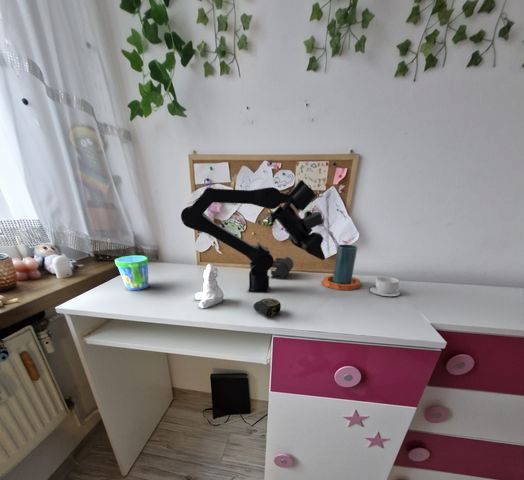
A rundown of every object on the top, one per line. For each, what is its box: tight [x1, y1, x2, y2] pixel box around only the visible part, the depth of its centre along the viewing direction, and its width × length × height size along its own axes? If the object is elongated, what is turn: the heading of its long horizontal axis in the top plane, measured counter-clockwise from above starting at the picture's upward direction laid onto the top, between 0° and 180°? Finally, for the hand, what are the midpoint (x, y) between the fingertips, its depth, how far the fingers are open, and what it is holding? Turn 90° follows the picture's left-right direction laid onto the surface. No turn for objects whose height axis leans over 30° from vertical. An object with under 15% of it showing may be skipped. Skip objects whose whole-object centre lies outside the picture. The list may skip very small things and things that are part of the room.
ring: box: [322, 274, 362, 291], centre depth 104 cm, size 14×14×2 cm
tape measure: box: [253, 298, 282, 318], centre depth 79 cm, size 7×7×4 cm
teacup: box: [369, 276, 403, 297], centre depth 96 cm, size 10×10×5 cm
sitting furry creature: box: [194, 263, 225, 309], centre depth 85 cm, size 10×9×12 cm
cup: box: [331, 244, 358, 284], centre depth 100 cm, size 7×7×14 cm
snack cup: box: [114, 255, 149, 291], centre depth 97 cm, size 16×10×10 cm
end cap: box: [270, 256, 294, 280], centre depth 112 cm, size 10×7×7 cm
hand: (318, 256), depth 96 cm, fingers open, 9 cm apart
